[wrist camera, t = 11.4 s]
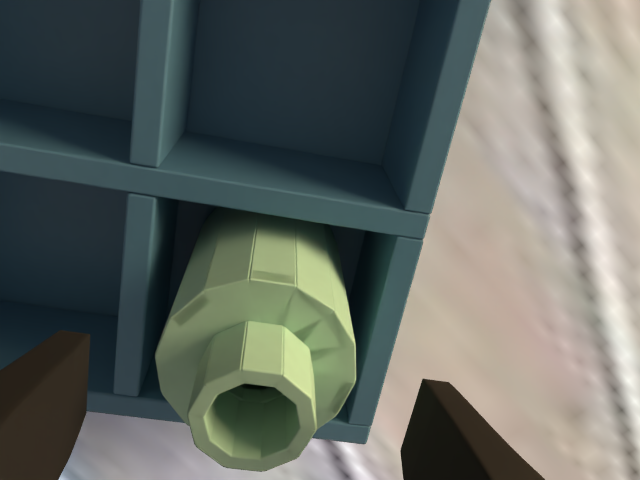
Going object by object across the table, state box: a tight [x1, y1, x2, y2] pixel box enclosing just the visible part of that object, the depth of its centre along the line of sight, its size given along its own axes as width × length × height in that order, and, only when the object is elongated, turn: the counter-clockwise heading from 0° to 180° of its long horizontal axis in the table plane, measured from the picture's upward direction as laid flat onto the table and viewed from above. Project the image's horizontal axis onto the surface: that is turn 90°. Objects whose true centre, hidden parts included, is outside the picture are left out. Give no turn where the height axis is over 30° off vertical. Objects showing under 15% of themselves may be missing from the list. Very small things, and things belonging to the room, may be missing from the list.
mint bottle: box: [155, 206, 356, 472], centre depth 15 cm, size 4×5×8 cm
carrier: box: [0, 0, 491, 444], centre depth 16 cm, size 14×14×5 cm
